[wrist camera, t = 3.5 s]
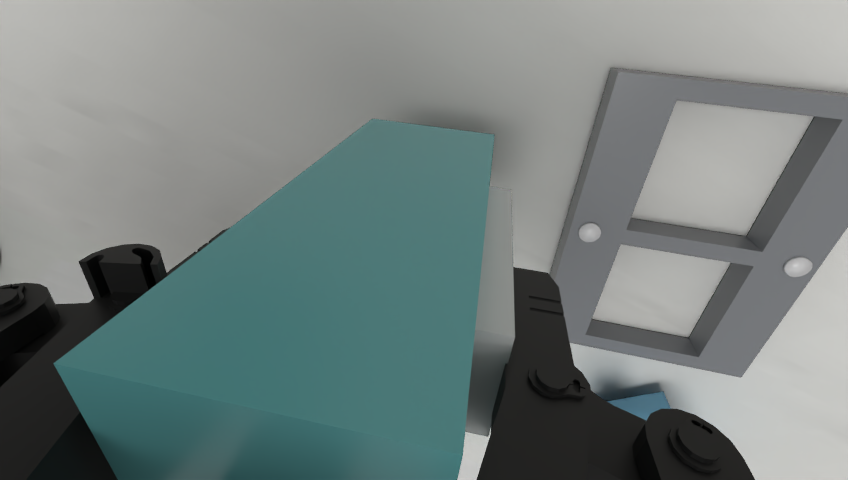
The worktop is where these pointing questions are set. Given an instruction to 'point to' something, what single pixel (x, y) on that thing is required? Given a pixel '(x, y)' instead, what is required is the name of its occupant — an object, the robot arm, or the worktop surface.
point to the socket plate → (749, 256)
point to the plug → (308, 327)
